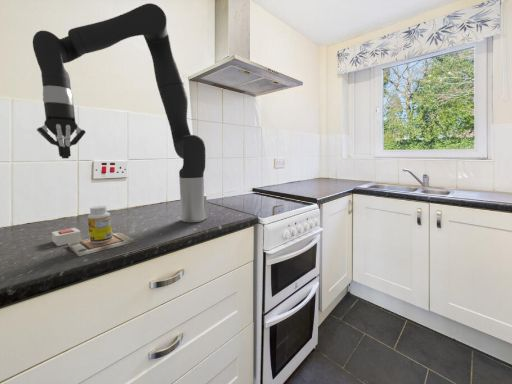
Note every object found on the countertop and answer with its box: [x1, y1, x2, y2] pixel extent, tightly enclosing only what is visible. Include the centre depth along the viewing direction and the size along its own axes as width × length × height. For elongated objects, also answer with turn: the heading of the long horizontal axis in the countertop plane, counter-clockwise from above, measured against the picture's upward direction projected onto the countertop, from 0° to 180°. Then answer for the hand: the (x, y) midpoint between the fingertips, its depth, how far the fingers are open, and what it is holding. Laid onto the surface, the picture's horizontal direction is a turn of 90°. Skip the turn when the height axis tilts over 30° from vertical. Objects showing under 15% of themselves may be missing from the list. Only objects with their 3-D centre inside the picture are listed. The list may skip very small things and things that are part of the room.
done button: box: [58, 228, 74, 234], centre depth 77 cm, size 3×3×2 cm
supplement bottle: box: [87, 205, 113, 244], centre depth 73 cm, size 6×6×10 cm
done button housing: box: [51, 227, 83, 247], centre depth 77 cm, size 6×6×3 cm
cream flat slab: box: [67, 232, 135, 257], centre depth 74 cm, size 14×11×1 cm
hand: (65, 158), depth 83 cm, fingers closed
